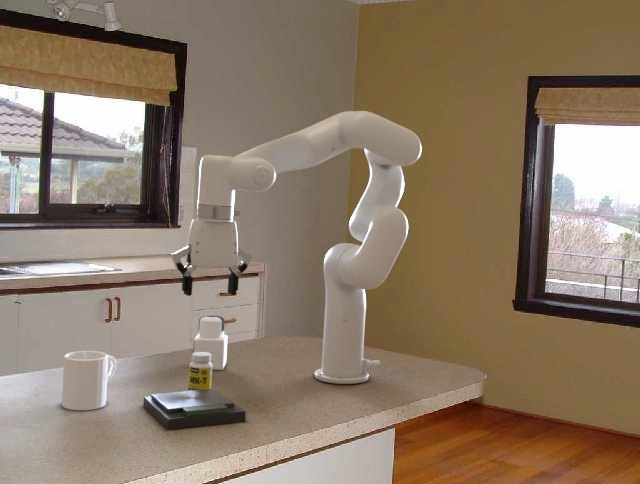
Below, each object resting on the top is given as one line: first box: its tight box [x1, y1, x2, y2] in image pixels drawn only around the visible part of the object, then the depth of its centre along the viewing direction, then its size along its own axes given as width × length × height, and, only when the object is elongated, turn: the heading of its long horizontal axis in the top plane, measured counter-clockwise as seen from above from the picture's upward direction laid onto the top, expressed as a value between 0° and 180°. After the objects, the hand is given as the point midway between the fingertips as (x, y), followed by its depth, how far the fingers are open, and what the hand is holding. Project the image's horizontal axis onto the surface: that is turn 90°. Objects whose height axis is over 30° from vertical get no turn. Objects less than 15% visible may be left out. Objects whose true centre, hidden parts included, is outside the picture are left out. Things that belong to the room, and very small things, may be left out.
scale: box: [142, 395, 247, 431], centre depth 171 cm, size 15×16×3 cm
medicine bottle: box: [192, 314, 228, 371], centre depth 209 cm, size 7×7×12 cm
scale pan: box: [150, 388, 235, 413], centre depth 171 cm, size 13×11×1 cm
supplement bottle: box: [187, 352, 213, 391], centre depth 186 cm, size 5×5×8 cm
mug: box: [61, 350, 118, 411], centre depth 174 cm, size 8×12×10 cm
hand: (209, 294), depth 186 cm, fingers open, 9 cm apart
